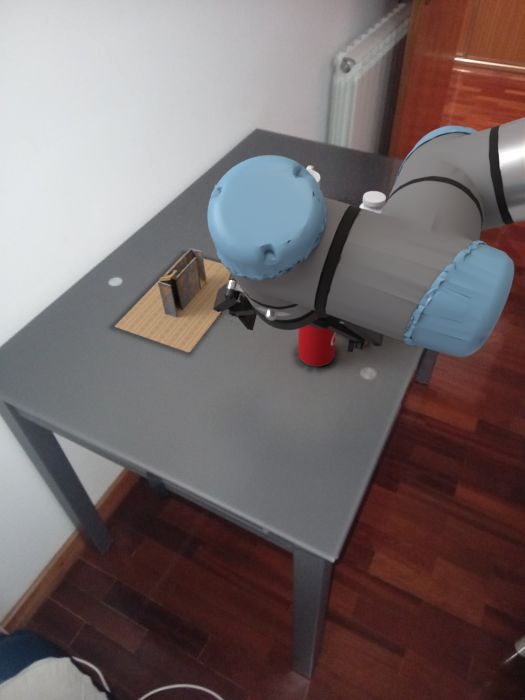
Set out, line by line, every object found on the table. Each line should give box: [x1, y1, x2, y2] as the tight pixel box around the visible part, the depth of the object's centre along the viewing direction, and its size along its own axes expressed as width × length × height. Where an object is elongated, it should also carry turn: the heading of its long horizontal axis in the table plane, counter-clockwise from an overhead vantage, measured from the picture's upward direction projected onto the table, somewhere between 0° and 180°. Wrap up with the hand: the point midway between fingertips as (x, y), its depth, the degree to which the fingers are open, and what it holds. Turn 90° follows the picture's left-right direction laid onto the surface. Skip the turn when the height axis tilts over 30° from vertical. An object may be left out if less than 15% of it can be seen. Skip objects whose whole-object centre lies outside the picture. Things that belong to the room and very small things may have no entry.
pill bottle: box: [358, 190, 387, 214], centre depth 105 cm, size 6×6×10 cm
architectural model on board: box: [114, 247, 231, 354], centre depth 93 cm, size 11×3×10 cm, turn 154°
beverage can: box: [297, 319, 338, 367], centre depth 81 cm, size 6×6×12 cm
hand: (301, 331), depth 65 cm, fingers open, 13 cm apart
